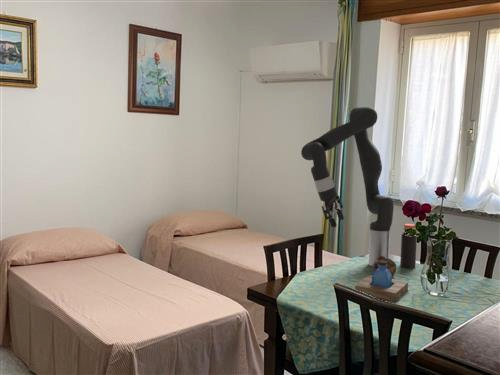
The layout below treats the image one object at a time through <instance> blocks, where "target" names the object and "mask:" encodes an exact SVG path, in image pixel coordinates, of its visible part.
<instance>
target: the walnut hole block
mask: <svg viewBox="0 0 500 375" xmlns="http://www.w3.org/2000/svg"><path fill="white" fill-rule="evenodd" d="M372 276H373V275H368V276H367V277H365V278H364V279H362V280H361V281H359V282H357V283H356V284H355V286H354V290H355V289H356V290H358V291H361V292H364V293H366V294H368V295H371V296H373V297H376V298H375V299H377V298H379V300H382V301H383V300H384V301H387V302H393V303H396V302H398V301H399V300H400V298H402V297H403V296H404V295H405V294H406V293H407V292H408V291H409V281H404V280H397V279H393V278H392V286H391V287H390V288H384V287H379V286H374V285H372Z"/></svg>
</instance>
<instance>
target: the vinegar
mask: <svg viewBox="0 0 500 375" xmlns="http://www.w3.org/2000/svg"><path fill="white" fill-rule="evenodd" d="M409 228H412V229H414V228H415V229H416V224H414V223H404V224H403V230H404V231H403V233H402V234H401V241H400V267H401V268H403V269H414V268H416V264H417V263H416V261H417V260H416V259H417V243H418V236H412V237H407V236H405V232H406V229H409Z"/></svg>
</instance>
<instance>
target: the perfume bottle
mask: <svg viewBox="0 0 500 375" xmlns="http://www.w3.org/2000/svg"><path fill="white" fill-rule="evenodd" d="M386 263H387V261H383V260H381V261H379V264H378V267H379V268H378V269H377V270H375V271H374V273H372V275H371V276H372V285H374V286H379V287H384V288H390V287H391V286H392V279H393V276H392V274H391V272H390V271H389V269H386V268H387V264H386Z"/></svg>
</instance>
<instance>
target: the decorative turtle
mask: <svg viewBox="0 0 500 375" xmlns="http://www.w3.org/2000/svg"><path fill="white" fill-rule="evenodd" d="M381 260H383V261H387V263H386V264H387V268H386V269H389V271H390V272H391V274H392V277H394V276H395V274H396V270H397V267H398V266H397V264H396V262H395V261H394V260H392V259H391V258H389V259H388V258H385V257H384V256H379V257H378V258H377V261H376V262H375V263H374V267H373V269H374V270H375V271H376V270H377V269H378V268H379V267H378V264H379V261H381Z"/></svg>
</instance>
